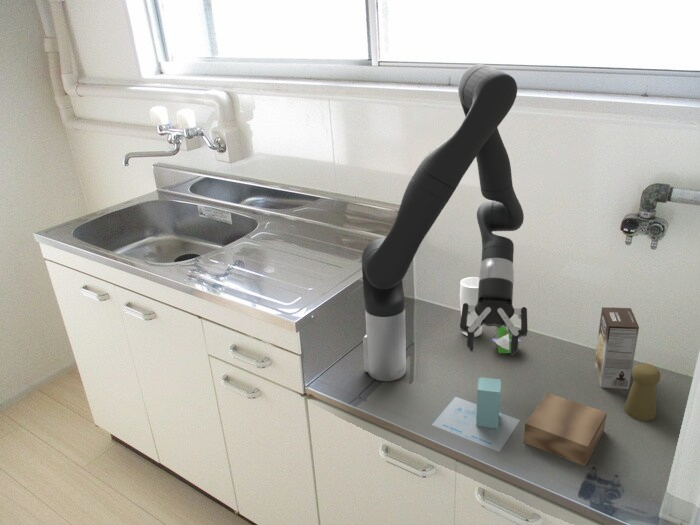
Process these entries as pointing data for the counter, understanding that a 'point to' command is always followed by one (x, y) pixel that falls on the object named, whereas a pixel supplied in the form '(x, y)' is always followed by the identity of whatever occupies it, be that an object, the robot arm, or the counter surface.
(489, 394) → the teal block
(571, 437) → the walnut block
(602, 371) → the coffee box
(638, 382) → the cork
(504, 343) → the geometric puzzle
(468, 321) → the drinking glass
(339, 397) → the counter surface
